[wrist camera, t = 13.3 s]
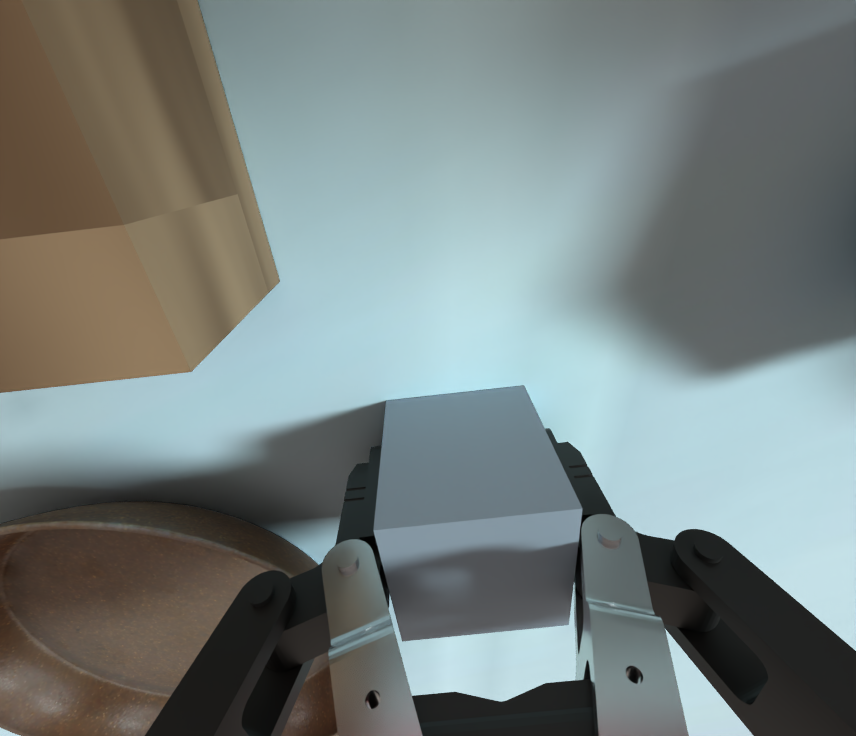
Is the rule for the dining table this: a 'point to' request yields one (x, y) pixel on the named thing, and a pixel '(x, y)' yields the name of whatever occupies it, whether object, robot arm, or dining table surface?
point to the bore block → (118, 195)
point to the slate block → (474, 516)
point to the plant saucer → (127, 614)
